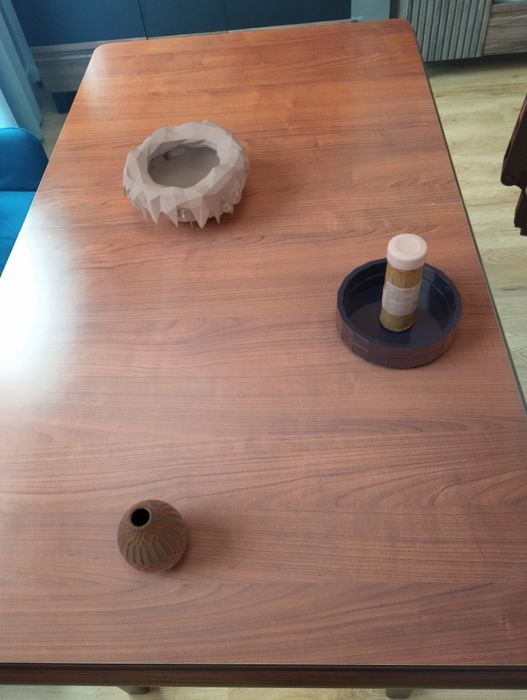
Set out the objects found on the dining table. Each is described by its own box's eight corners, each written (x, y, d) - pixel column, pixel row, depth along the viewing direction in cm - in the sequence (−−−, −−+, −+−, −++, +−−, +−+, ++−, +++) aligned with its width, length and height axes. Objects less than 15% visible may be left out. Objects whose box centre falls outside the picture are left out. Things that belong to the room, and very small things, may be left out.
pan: (475, 355, 74) (482, 333, 70) (356, 381, 73) (357, 360, 69) (429, 271, 83) (434, 247, 80) (323, 293, 82) (323, 270, 79)
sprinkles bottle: (391, 302, 80) (402, 226, 69) (420, 317, 78) (436, 241, 67) (372, 323, 78) (380, 248, 67) (401, 339, 76) (414, 264, 65)
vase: (139, 593, 60) (114, 566, 53) (121, 533, 64) (96, 500, 57) (201, 563, 61) (186, 533, 54) (180, 506, 65) (163, 471, 58)
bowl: (279, 184, 98) (275, 130, 90) (212, 262, 88) (201, 209, 80) (179, 155, 106) (168, 103, 98) (108, 223, 96) (88, 171, 88)
